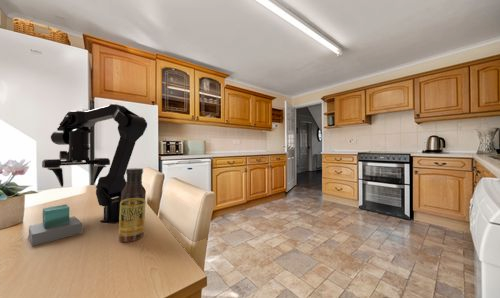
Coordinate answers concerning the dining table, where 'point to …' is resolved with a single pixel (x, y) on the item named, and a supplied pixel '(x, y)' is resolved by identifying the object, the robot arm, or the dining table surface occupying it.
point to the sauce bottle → (132, 207)
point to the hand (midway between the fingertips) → (78, 184)
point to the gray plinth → (54, 231)
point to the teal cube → (55, 216)
